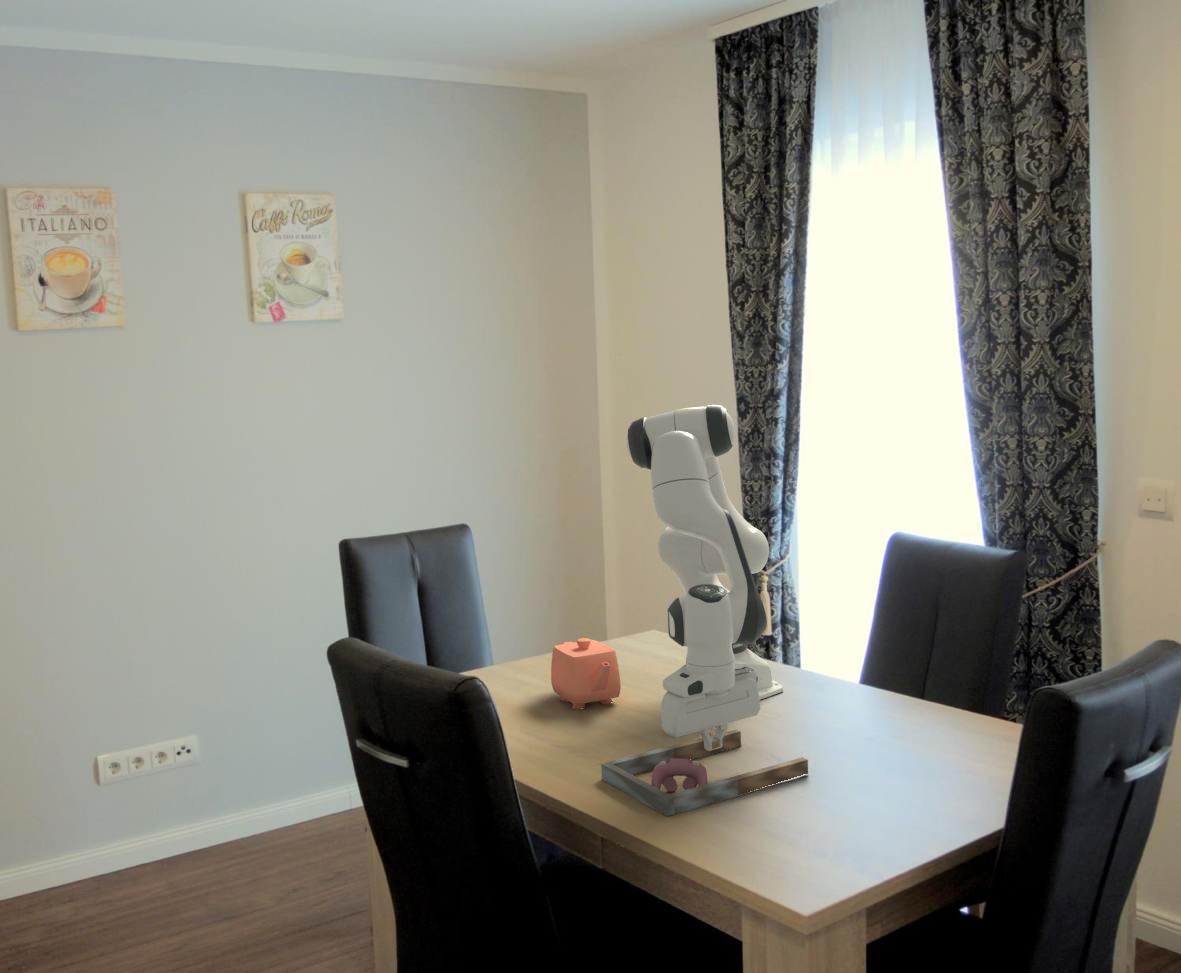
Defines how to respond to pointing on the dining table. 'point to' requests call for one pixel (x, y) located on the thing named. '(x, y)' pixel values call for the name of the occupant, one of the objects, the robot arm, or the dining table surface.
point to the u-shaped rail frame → (670, 804)
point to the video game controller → (679, 774)
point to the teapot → (585, 672)
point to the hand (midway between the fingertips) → (713, 748)
